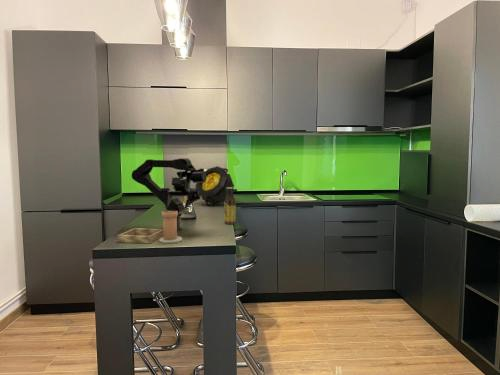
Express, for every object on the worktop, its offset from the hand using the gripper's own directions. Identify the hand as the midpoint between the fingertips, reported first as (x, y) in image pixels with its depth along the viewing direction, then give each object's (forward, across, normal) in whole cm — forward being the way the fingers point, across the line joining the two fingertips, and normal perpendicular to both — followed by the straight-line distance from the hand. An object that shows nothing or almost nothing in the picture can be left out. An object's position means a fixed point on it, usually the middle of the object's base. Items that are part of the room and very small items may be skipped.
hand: (175, 207), depth 165 cm
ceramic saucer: (+15, 0, +4) cm, 16 cm away
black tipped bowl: (-65, -10, +84) cm, 106 cm away
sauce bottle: (-14, +17, +34) cm, 41 cm away
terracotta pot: (+15, 0, +3) cm, 15 cm away
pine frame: (+15, -14, +4) cm, 20 cm away
